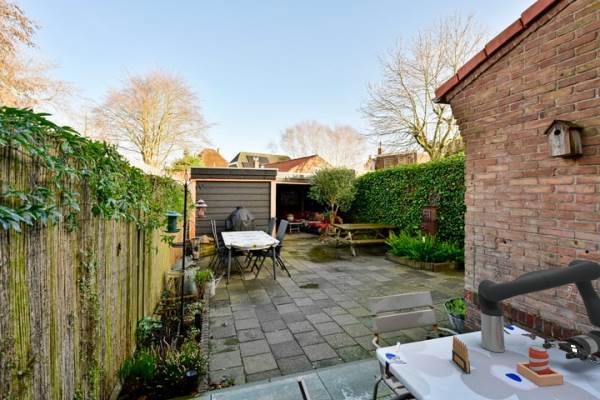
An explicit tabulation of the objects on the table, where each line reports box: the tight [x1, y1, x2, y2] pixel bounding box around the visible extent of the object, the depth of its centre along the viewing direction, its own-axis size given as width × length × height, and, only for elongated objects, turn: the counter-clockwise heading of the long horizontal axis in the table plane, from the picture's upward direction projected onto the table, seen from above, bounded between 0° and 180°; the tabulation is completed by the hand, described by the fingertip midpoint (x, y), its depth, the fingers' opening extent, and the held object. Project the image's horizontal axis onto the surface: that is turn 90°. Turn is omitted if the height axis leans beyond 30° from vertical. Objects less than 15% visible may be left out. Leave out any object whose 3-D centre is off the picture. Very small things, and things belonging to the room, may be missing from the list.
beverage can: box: [528, 344, 550, 375], centre depth 116 cm, size 6×6×12 cm
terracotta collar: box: [516, 361, 565, 387], centre depth 115 cm, size 10×10×4 cm
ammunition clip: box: [451, 335, 471, 374], centre depth 125 cm, size 11×2×12 cm, turn 1°
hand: (554, 351), depth 118 cm, fingers open, 8 cm apart
